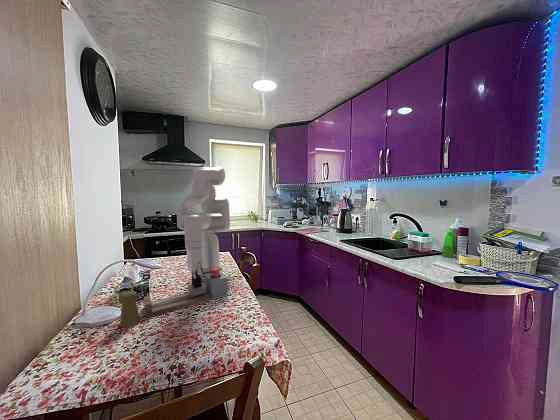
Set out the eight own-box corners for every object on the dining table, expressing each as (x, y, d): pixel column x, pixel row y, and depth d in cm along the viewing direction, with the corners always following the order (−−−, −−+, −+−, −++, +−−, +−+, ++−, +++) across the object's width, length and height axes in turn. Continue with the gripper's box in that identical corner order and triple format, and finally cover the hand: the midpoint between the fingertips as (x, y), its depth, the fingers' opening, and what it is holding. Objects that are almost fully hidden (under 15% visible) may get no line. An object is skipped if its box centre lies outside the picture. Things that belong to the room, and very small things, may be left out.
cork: (118, 329, 79) (116, 297, 78) (121, 320, 84) (119, 291, 83) (139, 324, 82) (137, 293, 81) (140, 316, 87) (138, 287, 86)
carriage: (188, 292, 102) (187, 273, 101) (202, 289, 105) (201, 271, 105) (192, 298, 96) (191, 278, 95) (206, 294, 99) (205, 275, 99)
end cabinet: (205, 291, 108) (204, 274, 107) (220, 287, 112) (219, 271, 111) (212, 299, 99) (211, 281, 99) (227, 294, 103) (227, 277, 103)
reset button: (208, 276, 106) (208, 268, 105) (219, 274, 108) (218, 266, 108) (211, 279, 101) (211, 271, 101) (222, 277, 104) (222, 269, 104)
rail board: (144, 306, 94) (143, 296, 94) (204, 291, 107) (203, 282, 107) (146, 317, 86) (145, 306, 85) (211, 299, 99) (210, 289, 99)
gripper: (181, 241, 103) (183, 282, 105) (190, 248, 90) (192, 294, 92) (198, 239, 108) (200, 278, 109) (209, 245, 94) (211, 289, 96)
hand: (196, 285), depth 100 cm, fingers closed on carriage, 2 cm apart
